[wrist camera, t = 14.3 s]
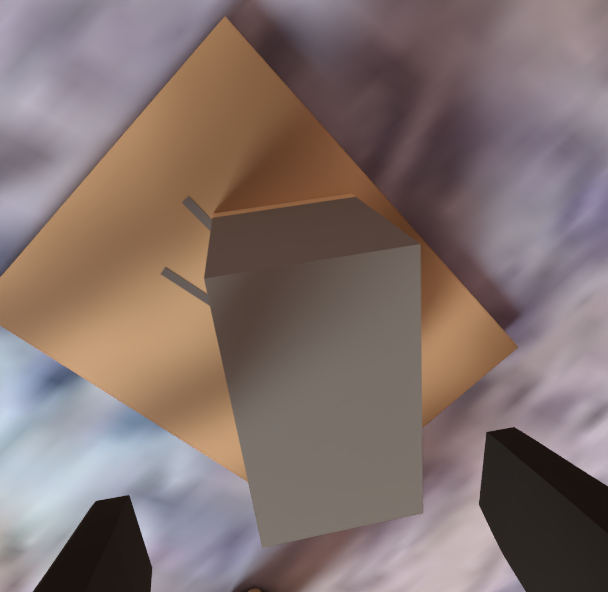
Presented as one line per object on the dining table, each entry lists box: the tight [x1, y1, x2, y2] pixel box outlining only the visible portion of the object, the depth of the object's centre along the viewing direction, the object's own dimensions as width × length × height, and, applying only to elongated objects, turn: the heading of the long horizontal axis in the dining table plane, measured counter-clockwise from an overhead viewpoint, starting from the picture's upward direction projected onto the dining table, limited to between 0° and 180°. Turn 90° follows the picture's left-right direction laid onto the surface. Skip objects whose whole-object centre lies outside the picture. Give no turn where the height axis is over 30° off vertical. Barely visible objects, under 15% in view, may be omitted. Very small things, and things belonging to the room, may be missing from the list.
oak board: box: [0, 17, 518, 482], centre depth 17 cm, size 16×12×1 cm
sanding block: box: [204, 193, 423, 548], centre depth 14 cm, size 8×5×6 cm, turn 6°
